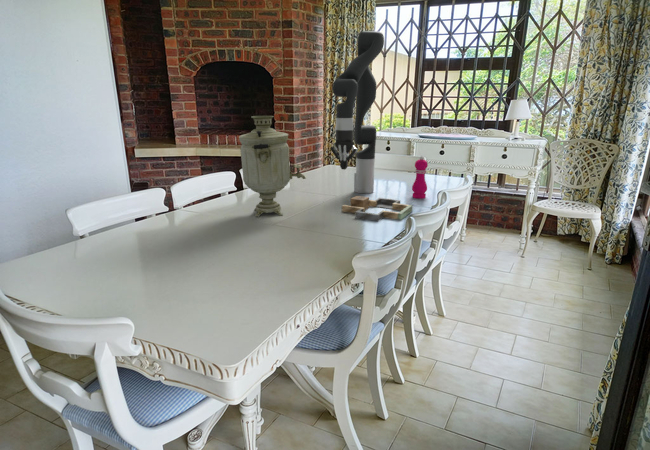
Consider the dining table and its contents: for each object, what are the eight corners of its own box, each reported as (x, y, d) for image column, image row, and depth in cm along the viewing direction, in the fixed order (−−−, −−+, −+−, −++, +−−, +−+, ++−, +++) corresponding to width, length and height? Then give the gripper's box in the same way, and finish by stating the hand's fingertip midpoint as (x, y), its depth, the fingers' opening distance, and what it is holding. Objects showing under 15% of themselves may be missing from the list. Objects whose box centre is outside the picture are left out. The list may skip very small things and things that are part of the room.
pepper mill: (409, 197, 205) (412, 156, 199) (413, 194, 211) (416, 154, 205) (424, 199, 202) (427, 157, 196) (428, 196, 208) (431, 155, 202)
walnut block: (350, 209, 185) (350, 198, 184) (356, 206, 190) (356, 195, 189) (363, 211, 183) (363, 200, 181) (368, 208, 188) (369, 197, 186)
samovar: (294, 225, 163) (292, 119, 151) (230, 221, 168) (223, 118, 156) (312, 205, 191) (311, 114, 179) (257, 202, 196) (252, 113, 184)
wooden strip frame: (335, 214, 177) (335, 209, 177) (361, 200, 200) (361, 195, 199) (396, 223, 165) (396, 217, 165) (416, 207, 188) (416, 202, 187)
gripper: (326, 128, 179) (326, 169, 185) (355, 130, 173) (354, 171, 179) (334, 127, 186) (334, 166, 191) (362, 128, 180) (361, 169, 185)
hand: (343, 169), depth 185 cm, fingers closed
